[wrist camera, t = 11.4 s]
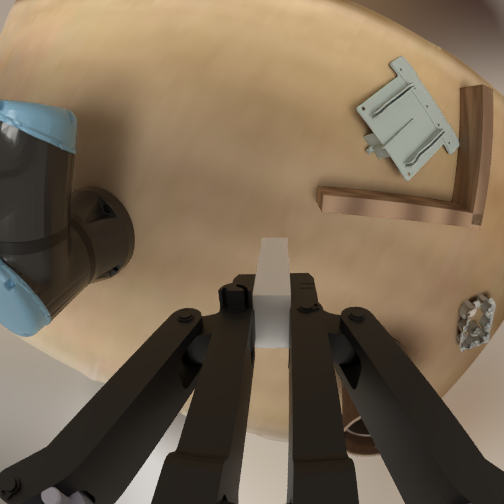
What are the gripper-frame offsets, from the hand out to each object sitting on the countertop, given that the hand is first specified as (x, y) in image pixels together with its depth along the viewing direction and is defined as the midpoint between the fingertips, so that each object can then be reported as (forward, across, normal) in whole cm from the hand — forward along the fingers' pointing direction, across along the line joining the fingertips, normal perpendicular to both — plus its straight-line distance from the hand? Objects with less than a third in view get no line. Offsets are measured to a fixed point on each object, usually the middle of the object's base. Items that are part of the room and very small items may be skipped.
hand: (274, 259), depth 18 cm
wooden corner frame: (+22, -18, -8) cm, 29 cm away
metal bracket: (+23, -18, -10) cm, 30 cm away
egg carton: (+22, -37, +22) cm, 49 cm away
